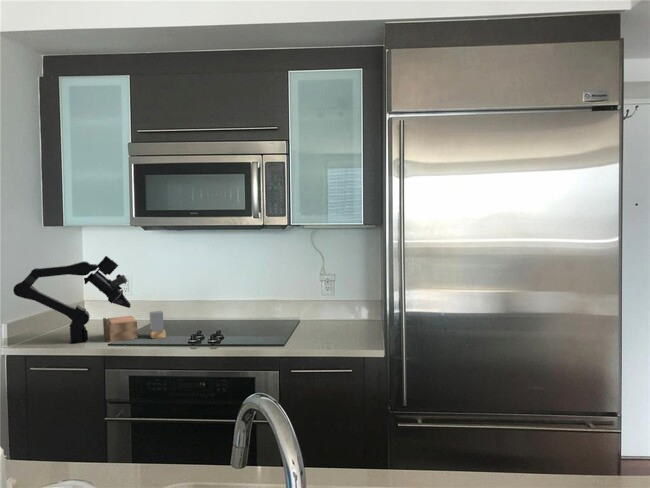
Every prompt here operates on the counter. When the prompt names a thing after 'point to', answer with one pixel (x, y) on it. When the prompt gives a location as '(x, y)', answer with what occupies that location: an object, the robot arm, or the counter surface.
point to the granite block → (156, 321)
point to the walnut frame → (119, 330)
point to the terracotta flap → (121, 319)
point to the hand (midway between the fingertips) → (129, 306)
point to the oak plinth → (157, 334)
